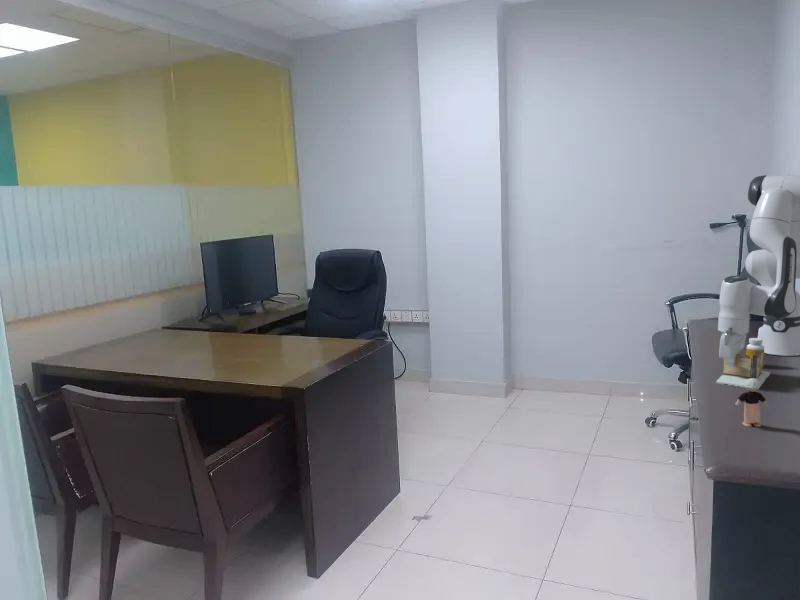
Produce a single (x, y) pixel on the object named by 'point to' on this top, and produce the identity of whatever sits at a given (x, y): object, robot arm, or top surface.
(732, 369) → the notched wooden plank
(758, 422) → the grandmother figurine
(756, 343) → the supplement bottle
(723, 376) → the card
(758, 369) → the fence fixed
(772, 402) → the top surface
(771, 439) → the top surface
